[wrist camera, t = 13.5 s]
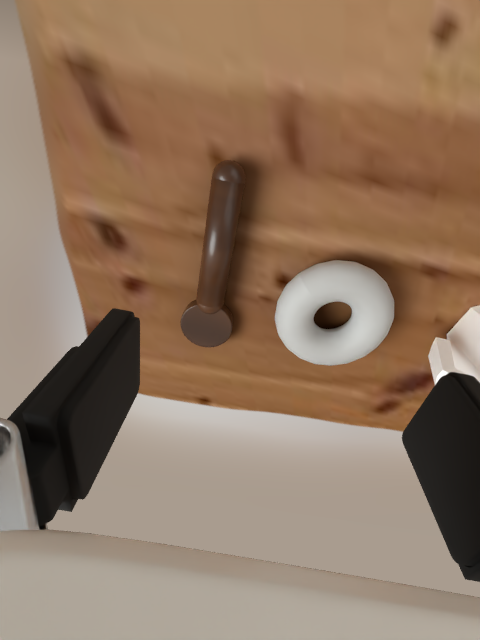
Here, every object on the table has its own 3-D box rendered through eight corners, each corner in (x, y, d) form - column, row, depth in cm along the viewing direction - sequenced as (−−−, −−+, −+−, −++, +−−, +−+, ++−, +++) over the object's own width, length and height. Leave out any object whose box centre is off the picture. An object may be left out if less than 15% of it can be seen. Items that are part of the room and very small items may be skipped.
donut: (335, 365, 32) (412, 292, 27) (342, 389, 29) (430, 312, 24) (253, 318, 30) (321, 230, 25) (252, 340, 27) (328, 245, 22)
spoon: (200, 152, 23) (194, 154, 21) (265, 166, 23) (265, 169, 21) (181, 335, 31) (175, 350, 29) (228, 344, 31) (226, 359, 29)
